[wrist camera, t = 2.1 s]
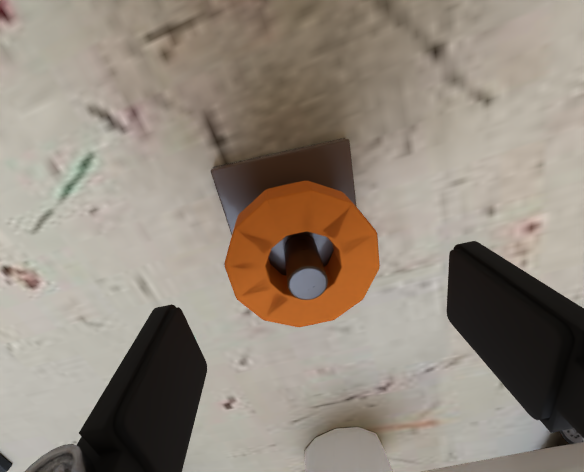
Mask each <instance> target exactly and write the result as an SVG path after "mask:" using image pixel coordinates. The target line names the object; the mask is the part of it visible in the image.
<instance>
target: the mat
mask: <svg viewBox="0 0 584 472" xmlns="http://www.w3.org/2000/svg"><path fill="white" fill-rule="evenodd" d="M11 466H12V464H11V463H10V462H9V461H7V460H6V459H5V458H4V457H3V456H2V455H0V472H7V471H8V470H9V468H10V467H11Z"/></svg>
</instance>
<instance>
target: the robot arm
mask: <svg viewBox="0 0 584 472" xmlns="http://www.w3.org/2000/svg"><path fill="white" fill-rule="evenodd" d="M447 316H448V319H449V321H450V322H451V324H452V325H453V326H454V327H455V328H456V329H457V331H458V332H459V333H460V334H461V335H462V336H463V338H464V339H465V340H466V341H467V342H468V343H469V345H470V346H471V347H472V348H473V349H474V350H475V352H476V353H477V354H478V355H479V356H480V358H481V359H482V360H483V361H484V362H485V363H486V365H487V366H488V367H489V368H490V369H491V370H492V372H493V373H494V374H495V375H496V376H497V377H498V379H499V380H500V381H501V382H502V383H503V384H504V386H505V387H506V388H507V389H508V390H509V391H510V393H511V394H512V395H513V396H514V397H515V398H516V400H517V401H518V402H519V403H520V404H521V406H522V407H523V408H524V409H525V410H526V411H527V413H528V414H529V415H530V416H531V417H533V418H534V419H536V420H540V421H541V422H542V423H543V424H544V425H545V426H546V428H547V429H548V430H549V431H550V432H551V433H552V432H557V431H562V430H568V429H572V428H574V429H575V430H576V431H577V432H578V433H579V434H580V435H581V436H582V437H583V442H581V443H575V444H569V445H563V446H557V447H551V448H546V449H540V450H535V451H530V452H524V453H519V454H514V455H508V456H503V457H497V458H492V459H487V460H481V461H476V462H471V463H465V464H460V465H454V466H449V467H444V468H438V469H433V470H428V471H423V472H584V308H582V307H580V306H579V305H577V304H576V303H574V302H572V301H571V300H569V299H568V298H566V297H564V296H563V295H561V294H560V293H558V292H556V291H555V290H553V289H552V288H550V287H548V286H547V285H545V284H544V283H542V282H540V281H539V280H537V279H536V278H534V277H532V276H531V275H529V274H528V273H526V272H524V271H523V270H521V269H520V268H518V267H516V266H515V265H513V264H512V263H510V262H509V261H507V260H505V259H504V258H502V257H501V256H499V255H497V254H496V253H494V252H493V251H491V250H489V249H488V248H486V247H485V246H483V245H481V244H480V243H478V242H476V241H472V242H467V243H462V244H457V245H456V246H455V247H454V250H451V251H450V255H449V275H448V296H447ZM206 373H207V364H206V361H205V358H204V356H203V354H202V352H201V350H200V348H199V346H198V344H197V342H196V339H195V337H194V335H193V333H192V331H191V329H190V327H189V325H188V323H187V320H186V318H185V316H184V314H183V312H182V310H181V309H180V308H176V307H175V306H174V305H167V306H162V307H158V308H155V309H154V310H153V311H152V313H151V314H150V316H149V318H148V319H147V321H146V323H145V324H144V326H143V328H142V329H141V331H140V333H139V334H138V336H137V338H136V339H135V341H134V343H133V344H132V346H131V348H130V349H129V351H128V353H127V354H126V356H125V357H124V359H123V361H122V362H121V364H120V366H119V367H118V369H117V371H116V372H115V374H114V376H113V377H112V379H111V381H110V382H109V384H108V386H107V387H106V389H105V391H104V392H103V394H102V396H101V397H100V399H99V401H98V402H97V404H96V406H95V407H94V409H93V410H92V412H91V414H90V415H89V417H88V419H87V420H86V422H85V424H84V425H83V427H82V429H81V430H80V432H79V434H80V435H81V436H82V437H81V439H80V440H79V442H78V444H77V446H76V445H74V444H68V445H62V446H60V447H57V448H55V449H53V450H51V451H50V452H48V453H46V454H45V455H43V456H42V457H40V458H39V459H38V460H37V461H36V462H34V463H33V464H32V465H31V466H30V467H29V468H28V469H27V470H26V471H25V472H182V469H183V465H184V461H185V457H186V453H187V449H188V445H189V441H190V437H191V433H192V429H193V425H194V421H195V417H196V413H197V409H198V405H199V401H200V397H201V393H202V389H203V385H204V381H205V377H206Z"/></svg>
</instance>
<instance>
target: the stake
mask: <svg viewBox="0 0 584 472" xmlns="http://www.w3.org/2000/svg"><path fill="white" fill-rule="evenodd" d="M211 173H212V176H213V179H214V182H215V185H216V189H217V192H218V195H219V198H220V201H221V204H222V207H223V210H224V213H225V216H226V219H227V222H228V225H229V228H230V231H231V234H233V230H234V227H235V223H236V220H237V217H238V215H239V214H240V213H241V212H242V211H243V210H244V209H245V208H246V207H247V206H248V205H249V204H251V203H252V202H253V201H254V200H255V199H256V198H257V197H258V196H259V195H260V194H261V193H263V192H264V191H265V190H267V189H269V188H273V187H278V186H282V185H287V184H291V183H296V182H300V181H310V182H313V183H317V184H320V185H323V186H326V187H329V188H332V189H335V190H338V191H342V192H343V193H344V194H345V195H346V196H347V197H348V198H349V199H350V200H351V201H352V202H353V204H354V205H355V206H356V199H355V190H354V181H353V171H352V162H351V153H350V143H349V140H348V139H345V138H343V139H338V140H334V141H329V142H325V143H320V144H316V145H311V146H307V147H302V148H298V149H293V150H289V151H284V152H280V153H275V154H271V155H266V156H262V157H257V158H253V159H248V160H244V161H239V162H235V163H230V164H225V165H221V166H216V167H214V168H213V169H212V170H211ZM333 251H334V249H333V243H332V242H331V241H330V240H329V239H328V238H327V237H326V236H322V235H318V234H315V233H311V232H308V231H306V232H301V233H297V234H292V235H288V236H286V237H285V238H283V239H282V240H281V241H280V242H279V243H277V244H276V245H275V246H274V247H273V248H272V249H271V252H270V255H269V261H270V264H271V265H272V266H273V267H274V268H275V269H276V270H277V271H278V272H280V273H281V274H282V275H286V276H287V285H288V289H289V291H290V292H291V294H292V295H293V296H295V297H296V298H298V299H302V300H311V299H315V298H317V297H319V296H320V295H321V294H323V292H324V291H325V290H326V287H327V284H328V278H327V275H326V272H325V269H324V267H325V266H326V265H327V264H328V262H329V260H330V258H331V256H332V253H333Z"/></svg>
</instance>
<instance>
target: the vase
mask: <svg viewBox="0 0 584 472" xmlns="http://www.w3.org/2000/svg"><path fill="white" fill-rule="evenodd" d="M305 472H393V470H392V468H391V465H390V462H389V460H388V457H387V455H386V452H385V450H384V448H383V446H382V444H381V442H380V440H379V438H378V436H377V434H376V433H374V432H371V431H368V430H365V429H363V428H360V427H352V428H338V429H334V430H331V431H329V432H327V433H325V434H323V435H320V436H318V437H316V438H315V439H314V440H313V441H312V442H311V444H310V445H309V446H308V447H307V449H306V450H305Z"/></svg>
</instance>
